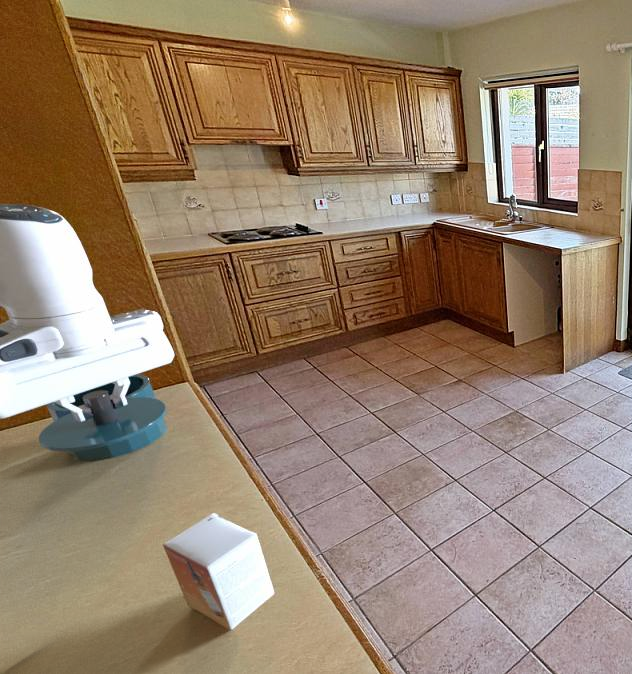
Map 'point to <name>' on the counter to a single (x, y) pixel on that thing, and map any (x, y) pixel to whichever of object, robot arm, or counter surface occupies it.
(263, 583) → the small box
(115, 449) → the canister
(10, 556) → the counter surface
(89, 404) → the lid
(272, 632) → the counter surface
